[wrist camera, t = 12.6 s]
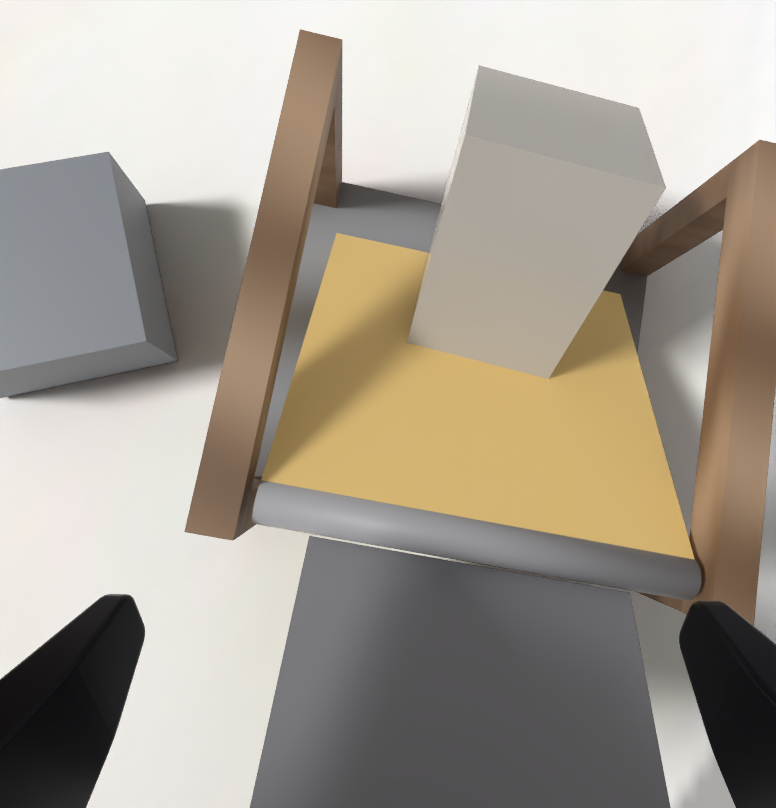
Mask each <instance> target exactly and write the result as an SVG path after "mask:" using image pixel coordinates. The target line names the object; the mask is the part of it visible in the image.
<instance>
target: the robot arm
mask: <svg viewBox="0 0 776 808" xmlns="http://www.w3.org/2000/svg"><path fill="white" fill-rule="evenodd" d="M144 637H145V627H144V623H143V621H142V618H141V616H140V613H139V611H138V608H137V606H136V603H135V601H134V599H133V597H131V596H130V595H127V594H109V595H105V596H103V597H101V598H100V599H98V600H97V601H96V602H95V603H93V604H92V605H91V606H90V607H88V608H87V609H86V610H85V611H84V612H82V613H81V614H80V615H79V616H77V617H76V618H75V619H74V620H73V621H71V622H70V623H69V624H68V625H66V626H65V627H64V628H63V629H61V630H60V631H59V632H58V633H57V634H55V635H54V636H53V637H52V638H50V639H49V640H48V641H47V642H46V643H44V644H43V645H42V646H41V647H39V648H38V649H37V650H36V651H34V652H33V653H32V654H31V655H30V656H28V657H27V658H26V659H25V660H23V661H22V662H21V663H20V664H19V665H17V666H16V667H15V668H14V669H12V670H11V671H10V672H9V673H7V674H6V675H5V676H4V677H3V678H1V679H0V808H86V806H87V804H88V801H89V799H90V797H91V794H92V792H93V789H94V787H95V784H96V782H97V779H98V777H99V775H100V772H101V770H102V767H103V765H104V762H105V760H106V758H107V755H108V753H109V750H110V747H111V745H112V742H113V740H114V737H115V734H116V731H117V728H118V725H119V722H120V718H121V715H122V712H123V708H124V705H125V702H126V699H127V695H128V692H129V689H130V685H131V682H132V679H133V675H134V672H135V669H136V665H137V662H138V659H139V656H140V652H141V649H142V646H143V642H144ZM679 643H680V648H681V652H682V655H683V658H684V661H685V665H686V668H687V671H688V674H689V678H690V681H691V684H692V687H693V690H694V694H695V697H696V700H697V703H698V707H699V710H700V713H701V716H702V720H703V723H704V726H705V729H706V732H707V736H708V738H709V741H710V744H711V747H712V750H713V753H714V756H715V758H716V761H717V763H718V766H719V768H720V771H721V773H722V775H723V778H724V780H725V782H726V785H727V787H728V790H729V792H730V794H731V797H732V799H733V802H734V804H735V806H736V808H776V644H775V643H774V642H773V641H771V640H770V639H769V638H768V637H767V636H765V635H764V634H763V633H762V632H760V631H759V630H758V629H757V628H755V627H754V626H753V625H752V624H750V623H749V622H748V621H747V620H746V619H744V618H743V617H742V616H741V615H739V614H738V613H737V612H736V611H734V610H733V609H732V608H731V607H730V606H728V605H727V604H725V603H723V602H721V601H712V600H698V601H695V602H693V603H692V604H691V606H690V608H689V611H688V613H687V616H686V618H685V621H684V623H683V626H682V629H681V631H680V636H679Z"/></svg>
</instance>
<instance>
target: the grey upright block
mask: <svg viewBox="0 0 776 808" xmlns="http://www.w3.org/2000/svg"><path fill="white" fill-rule="evenodd" d="M665 188H666V186H665V184H664V181H663V178H662V175H661V172H660V169H659V166H658V163H657V160H656V157H655V154H654V151H653V148H652V145H651V142H650V139H649V136H648V133H647V130H646V127H645V124H644V121H643V119H642V116H641V113H640V110H639V108H637V107H633V106H629V105H625V104H622V103H618V102H614V101H610V100H607V99H603V98H599V97H595V96H592V95H588V94H584V93H580V92H577V91H573V90H569V89H565V88H562V87H558V86H554V85H550V84H547V83H543V82H539V81H535V80H532V79H528V78H524V77H520V76H517V75H513V74H509V73H505V72H502V71H498V70H494V69H490V68H487V67H483V66H479V67H478V70H477V74H476V78H475V81H474V85H473V89H472V92H471V96H470V100H469V103H468V107H467V111H466V114H465V118H464V122H463V125H462V129H461V133H460V136H459V140H458V144H457V147H456V151H455V155H454V158H453V162H452V166H451V169H450V173H449V177H448V180H447V184H446V188H445V191H444V195H443V199H442V202H441V206H440V209H439V213H438V217H437V220H436V224H435V228H434V231H433V235H432V239H431V242H430V246H429V250H428V253H427V257H426V261H425V265H424V270H423V274H422V278H421V283H420V287H419V292H418V296H417V300H416V305H415V309H414V313H413V318H412V322H411V326H410V331H409V335H408V339H407V343H410V344H414V345H418V346H422V347H426V348H430V349H434V350H437V351H441V352H445V353H449V354H453V355H457V356H461V357H465V358H469V359H473V360H476V361H480V362H484V363H488V364H492V365H496V366H500V367H504V368H508V369H512V370H516V371H519V372H523V373H527V374H531V375H535V376H539V377H543V378H547V379H549V377H550V376H551V374H552V372H553V371H554V369H555V367H556V366H557V364H558V363H559V361H560V359H561V358H562V356H563V354H564V353H565V351H566V350H567V348H568V346H569V345H570V343H571V341H572V340H573V338H574V336H575V335H576V333H577V332H578V330H579V328H580V327H581V325H582V323H583V322H584V320H585V319H586V317H587V315H588V314H589V312H590V310H591V309H592V307H593V306H594V304H595V302H596V301H597V299H598V297H599V296H600V294H601V293H602V291H603V289H604V288H605V286H606V284H607V283H608V281H609V280H610V278H611V276H612V275H613V273H614V271H615V270H616V268H617V266H618V265H619V263H620V262H621V260H622V258H623V257H624V255H625V253H626V252H627V250H628V249H629V247H630V245H631V244H632V242H633V240H634V239H635V237H636V236H637V234H638V232H639V231H640V229H641V227H642V226H643V224H644V223H645V221H646V219H647V218H648V216H649V214H650V213H651V211H652V209H653V208H654V206H655V205H656V203H657V201H658V200H659V198H660V196H661V195H662V193H663V192H664V190H665Z"/></svg>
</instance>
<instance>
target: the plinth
mask: <svg viewBox="0 0 776 808" xmlns="http://www.w3.org/2000/svg"><path fill="white" fill-rule="evenodd" d="M175 361H178V360H177V355H176V350H175V345H174V340H173V336H172V331H171V326H170V321H169V316H168V311H167V306H166V301H165V296H164V291H163V287H162V282H161V277H160V272H159V267H158V262H157V257H156V252H155V247H154V242H153V238H152V233H151V228H150V223H149V218H148V213H147V208H146V203H145V200H144V199H143V197H142V196H141V195H140V193H139V192H138V191H137V189H136V188H135V187H134V185H133V184H132V182H131V181H130V180H129V178H128V177H127V176H126V174H125V173H124V172H123V170H122V169H121V168H120V166H119V165H118V164H117V162H116V161H115V160H114V158H113V157H112V156H111V154H110V153H109V152H104V153H98V154H92V155H86V156H80V157H74V158H68V159H62V160H56V161H50V162H44V163H37V164H31V165H25V166H19V167H13V168H7V169H1V170H0V398H3V397H8V396H13V395H17V394H22V393H27V392H32V391H36V390H41V389H46V388H51V387H55V386H60V385H65V384H70V383H74V382H79V381H84V380H89V379H94V378H98V377H103V376H108V375H113V374H117V373H122V372H127V371H132V370H136V369H141V368H146V367H151V366H156V365H160V364H165V363H170V362H175Z"/></svg>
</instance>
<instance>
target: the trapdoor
mask: <svg viewBox="0 0 776 808" xmlns="http://www.w3.org/2000/svg"><path fill="white" fill-rule="evenodd" d="M427 253H428V252H423V251H418V250H414V249H409V248H404V247H400V246H395V245H390V244H386V243H381V242H376V241H372V240H367V239H363V238H358V237H353V236H349V235H344V234H339V233H336V237H335V240H334V243H333V246H332V250H331V253H330V256H329V260H328V263H327V266H326V269H325V273H324V276H323V279H322V283H321V286H320V289H319V292H318V296H317V299H316V302H315V305H314V309H313V312H312V315H311V319H310V322H309V325H308V328H307V332H306V335H305V338H304V342H303V345H302V348H301V351H300V355H299V358H298V361H297V364H296V368H295V371H294V374H293V378H292V381H291V384H290V387H289V391H288V394H287V397H286V400H285V404H284V407H283V410H282V414H281V417H280V420H279V423H278V427H277V430H276V433H275V437H274V440H273V443H272V446H271V450H270V453H269V456H268V459H267V463H266V466H265V469H264V473H263V476H262V479H261V482H260V484H259V487H258V490H257V494H256V498H255V502H254V507H253V513H252V523H254V524H259V525H265V526H270V527H276V528H282V529H287V530H293V531H299V532H304V533H310V534H315V535H321V536H327V537H332V538H338V539H344V540H349V541H355V542H361V543H366V544H372V545H377V546H383V547H389V548H394V549H400V550H406V551H411V552H417V553H422V554H428V555H434V556H439V557H445V558H451V559H456V560H462V561H467V562H473V563H479V564H484V565H490V566H496V567H501V568H507V569H513V570H518V571H524V572H529V573H535V574H541V575H546V576H552V577H558V578H563V579H569V580H574V581H580V582H586V583H591V584H597V585H603V586H608V587H614V588H619V589H625V590H631V591H636V592H642V593H648V594H653V595H659V596H664V597H670V598H676V599H681V600H692V599H694V598H695V597H696V596H697V594H698V593H699V590H700V587H701V579H702V578H701V571H700V567H699V565H698V563H697V562H696V560H695V559H694V555H693V552H692V548H691V544H690V541H689V537H688V534H687V530H686V527H685V523H684V519H683V516H682V512H681V509H680V505H679V502H678V498H677V495H676V491H675V487H674V484H673V480H672V477H671V473H670V470H669V466H668V462H667V459H666V455H665V452H664V448H663V445H662V441H661V437H660V434H659V430H658V427H657V423H656V420H655V416H654V412H653V409H652V405H651V402H650V398H649V395H648V391H647V388H646V384H645V380H644V377H643V373H642V370H641V366H640V363H639V359H638V355H637V352H636V348H635V345H634V341H633V338H632V334H631V330H630V327H629V323H628V320H627V316H626V313H625V309H624V306H623V302H622V298H621V295H620V294H618V293H613V292H608V291H604V290H603V291H602V293H601V294H600V296H599V297H598V299H597V301H596V302H595V304H594V306H593V307H592V309H591V310H590V312H589V314H588V315H587V317H586V319H585V320H584V322H583V323H582V325H581V327H580V328H579V330H578V332H577V333H576V335H575V336H574V338H573V340H572V341H571V343H570V345H569V346H568V348H567V350H566V351H565V353H564V354H563V356H562V358H561V359H560V361H559V363H558V364H557V366H556V367H555V369H554V371H553V372H552V374H551V376H550V377H549V379H547V378H543V377H539V376H535V375H531V374H527V373H523V372H519V371H516V370H512V369H508V368H504V367H500V366H496V365H492V364H488V363H484V362H480V361H476V360H473V359H469V358H465V357H461V356H457V355H453V354H449V353H445V352H441V351H437V350H434V349H430V348H426V347H422V346H418V345H414V344H410V343H407V339H408V335H409V331H410V326H411V322H412V318H413V313H414V309H415V305H416V300H417V296H418V292H419V287H420V283H421V278H422V274H423V270H424V265H425V261H426V257H427ZM250 808H670V803H669V798H668V793H667V787H666V782H665V777H664V772H663V766H662V761H661V756H660V750H659V745H658V740H657V735H656V729H655V724H654V719H653V713H652V708H651V703H650V697H649V692H648V687H647V682H646V676H645V671H644V666H643V660H642V655H641V650H640V645H639V639H638V634H637V629H636V623H635V618H634V613H633V608H632V602H631V597H630V593H628V592H622V591H617V590H611V589H606V588H600V587H594V586H589V585H583V584H577V583H572V582H566V581H560V580H555V579H549V578H544V577H538V576H532V575H527V574H521V573H515V572H510V571H504V570H498V569H493V568H487V567H481V566H476V565H470V564H465V563H459V562H453V561H448V560H442V559H436V558H431V557H425V556H419V555H414V554H408V553H403V552H397V551H391V550H386V549H380V548H374V547H369V546H363V545H357V544H352V543H346V542H341V541H335V540H329V539H324V538H318V537H312V536H309V540H308V545H307V549H306V554H305V559H304V563H303V568H302V572H301V577H300V581H299V586H298V591H297V595H296V600H295V604H294V609H293V613H292V618H291V623H290V627H289V632H288V636H287V641H286V645H285V650H284V654H283V659H282V664H281V668H280V673H279V677H278V682H277V686H276V691H275V696H274V700H273V705H272V709H271V714H270V718H269V723H268V728H267V732H266V737H265V741H264V746H263V750H262V755H261V759H260V764H259V769H258V773H257V778H256V782H255V787H254V791H253V796H252V801H251V805H250Z"/></svg>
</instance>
